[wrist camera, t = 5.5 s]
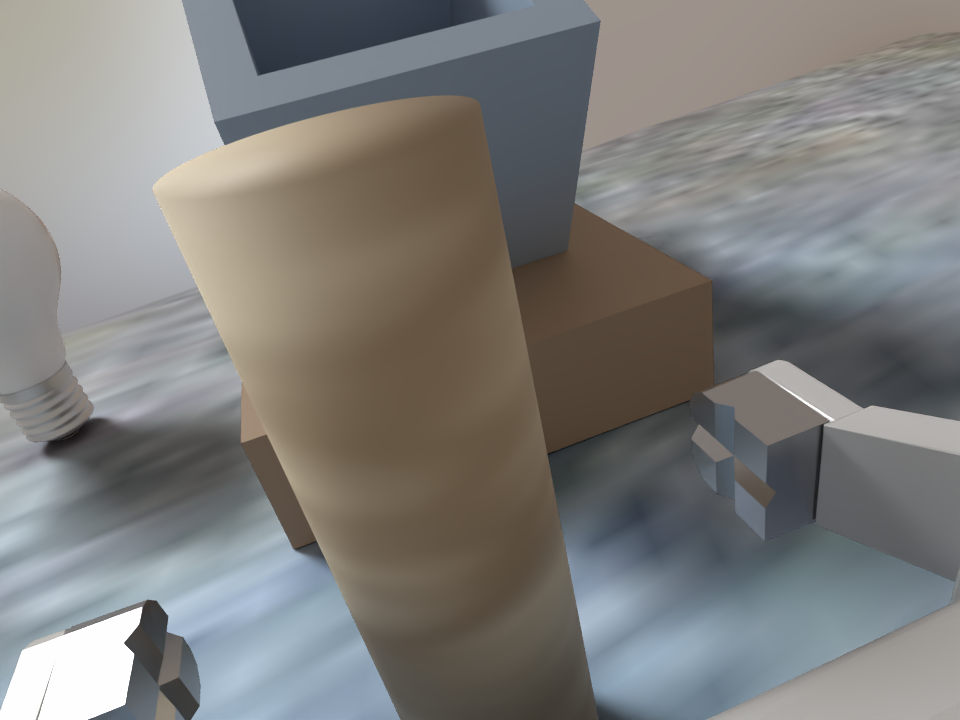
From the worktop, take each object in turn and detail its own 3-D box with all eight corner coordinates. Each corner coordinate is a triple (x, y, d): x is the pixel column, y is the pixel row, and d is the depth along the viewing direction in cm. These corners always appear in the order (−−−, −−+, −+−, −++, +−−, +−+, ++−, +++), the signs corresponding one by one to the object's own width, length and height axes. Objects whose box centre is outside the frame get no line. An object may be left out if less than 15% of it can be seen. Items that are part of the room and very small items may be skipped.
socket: (293, 549, 19) (-44, -126, 11) (273, 321, 33) (122, -43, 25) (714, 390, 21) (700, -266, 13) (525, 241, 36) (463, -117, 27)
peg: (460, 889, 11) (126, 233, 5) (416, 711, 14) (170, 155, 8) (637, 803, 12) (529, 118, 6) (560, 649, 15) (434, 84, 8)
